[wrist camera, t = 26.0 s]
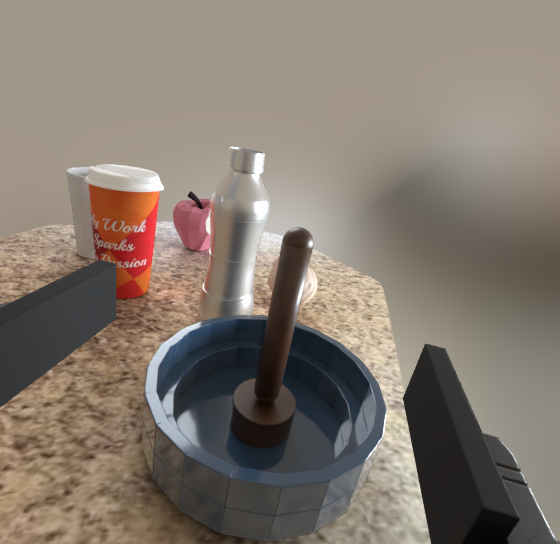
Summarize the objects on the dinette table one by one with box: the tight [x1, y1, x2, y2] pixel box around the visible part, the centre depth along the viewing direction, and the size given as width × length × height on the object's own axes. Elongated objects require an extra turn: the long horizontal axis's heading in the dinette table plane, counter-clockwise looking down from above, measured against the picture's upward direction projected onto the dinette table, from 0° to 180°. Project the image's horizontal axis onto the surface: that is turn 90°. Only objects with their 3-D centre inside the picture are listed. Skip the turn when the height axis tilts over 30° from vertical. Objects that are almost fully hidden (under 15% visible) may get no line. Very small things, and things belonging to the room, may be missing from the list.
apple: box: [173, 192, 211, 251], centre depth 62 cm, size 10×9×10 cm
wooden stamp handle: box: [229, 227, 314, 448], centre depth 25 cm, size 5×5×16 cm
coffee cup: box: [85, 164, 164, 299], centre depth 43 cm, size 8×8×15 cm
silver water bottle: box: [198, 147, 270, 321], centre depth 39 cm, size 6×7×20 cm
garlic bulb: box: [268, 257, 317, 305], centre depth 49 cm, size 7×6×8 cm
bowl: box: [142, 315, 387, 542], centre depth 28 cm, size 18×18×6 cm
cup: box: [66, 167, 95, 259], centre depth 53 cm, size 8×8×12 cm
